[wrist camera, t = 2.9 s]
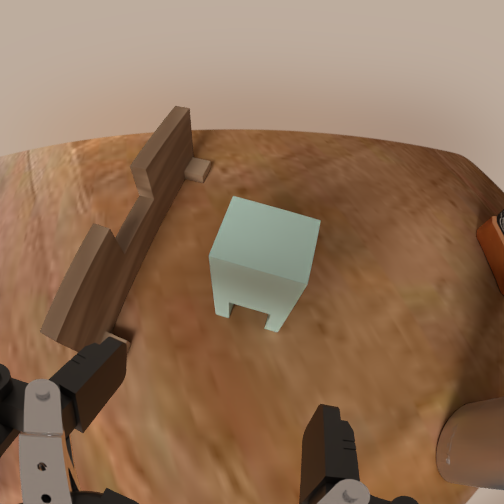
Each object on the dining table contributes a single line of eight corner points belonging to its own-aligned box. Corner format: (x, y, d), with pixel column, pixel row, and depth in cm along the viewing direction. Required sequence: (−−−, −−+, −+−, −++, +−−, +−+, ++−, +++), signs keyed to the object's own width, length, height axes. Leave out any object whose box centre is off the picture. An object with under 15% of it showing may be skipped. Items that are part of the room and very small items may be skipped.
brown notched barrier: (211, 166, 35) (210, 111, 28) (120, 371, 23) (80, 355, 16) (165, 156, 35) (156, 103, 28) (67, 344, 24) (20, 319, 17)
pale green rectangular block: (289, 287, 28) (320, 220, 19) (277, 332, 26) (307, 284, 17) (230, 270, 29) (233, 195, 19) (215, 314, 27) (208, 255, 17)
